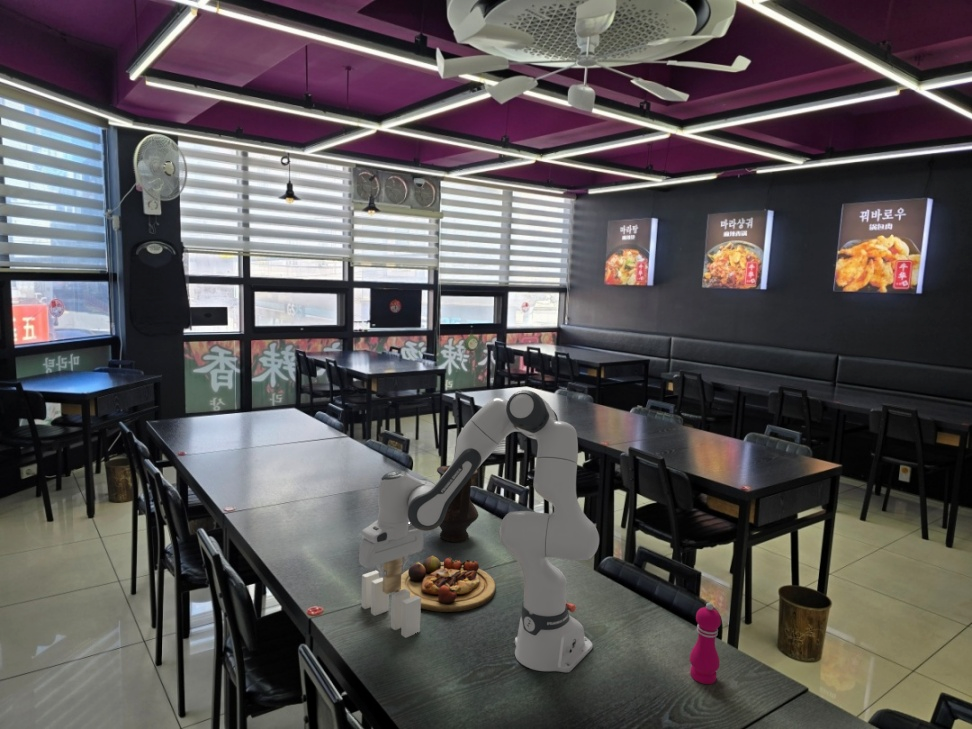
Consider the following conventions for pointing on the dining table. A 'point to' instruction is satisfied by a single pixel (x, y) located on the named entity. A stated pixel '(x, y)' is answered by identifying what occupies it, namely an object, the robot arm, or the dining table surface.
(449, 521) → the jug
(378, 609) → the domino
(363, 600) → the domino
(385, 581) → the domino
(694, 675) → the pepper mill
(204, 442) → the dining table surface
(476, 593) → the wooden plate with food
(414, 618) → the domino
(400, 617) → the domino
